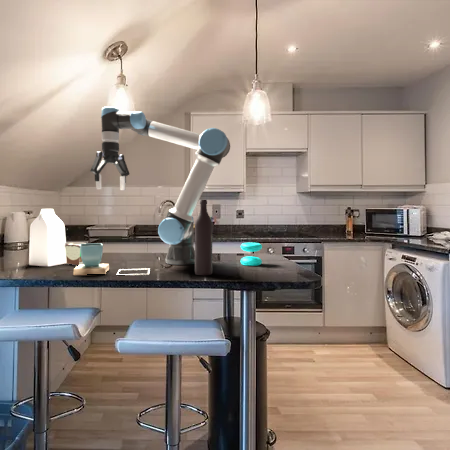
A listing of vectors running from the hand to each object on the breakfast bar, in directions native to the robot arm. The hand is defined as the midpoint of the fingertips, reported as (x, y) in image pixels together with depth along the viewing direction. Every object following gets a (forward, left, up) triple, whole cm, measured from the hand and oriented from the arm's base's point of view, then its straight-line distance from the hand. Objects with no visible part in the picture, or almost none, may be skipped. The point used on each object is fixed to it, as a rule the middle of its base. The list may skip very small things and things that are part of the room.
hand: (111, 189), depth 174 cm
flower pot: (+6, +17, -32) cm, 37 cm away
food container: (+16, -7, -35) cm, 39 cm away
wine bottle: (-39, +28, -35) cm, 59 cm away
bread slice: (+6, +17, -35) cm, 39 cm away
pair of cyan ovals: (-64, +7, -35) cm, 73 cm away
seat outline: (-11, +20, -35) cm, 42 cm away
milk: (+30, -10, -35) cm, 47 cm away
